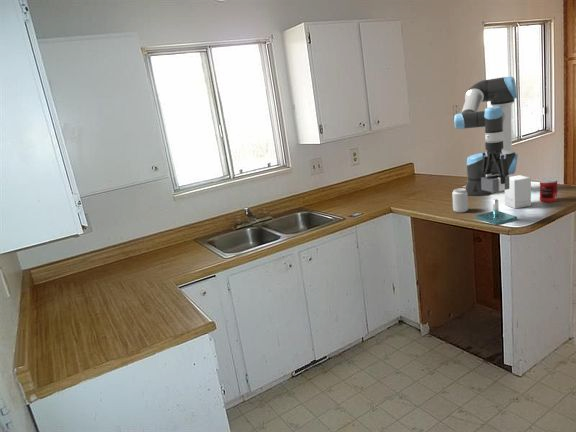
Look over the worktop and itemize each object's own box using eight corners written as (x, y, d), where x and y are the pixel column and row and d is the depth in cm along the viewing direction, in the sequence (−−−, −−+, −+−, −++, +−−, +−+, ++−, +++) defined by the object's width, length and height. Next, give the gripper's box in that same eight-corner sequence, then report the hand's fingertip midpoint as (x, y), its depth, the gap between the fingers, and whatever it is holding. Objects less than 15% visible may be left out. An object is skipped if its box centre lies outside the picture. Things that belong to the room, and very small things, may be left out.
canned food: (552, 197, 225) (552, 177, 222) (560, 201, 217) (560, 180, 215) (536, 199, 226) (537, 179, 223) (544, 203, 218) (544, 182, 216)
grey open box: (481, 189, 206) (481, 177, 204) (497, 186, 208) (497, 174, 206) (492, 192, 198) (492, 179, 197) (509, 188, 200) (509, 176, 198)
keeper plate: (475, 218, 212) (475, 199, 210) (496, 213, 215) (496, 195, 212) (495, 224, 199) (494, 205, 197) (517, 219, 201) (517, 200, 199)
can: (450, 210, 230) (449, 189, 227) (464, 208, 231) (463, 186, 228) (457, 213, 223) (456, 191, 220) (470, 211, 224) (470, 189, 220)
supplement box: (531, 206, 217) (531, 177, 213) (514, 209, 217) (514, 180, 213) (520, 202, 226) (520, 174, 222) (504, 205, 226) (503, 177, 222)
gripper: (472, 141, 206) (474, 186, 212) (503, 144, 186) (504, 194, 192) (486, 138, 208) (487, 184, 213) (517, 141, 188) (518, 191, 194)
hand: (495, 188), depth 203 cm, fingers closed on grey open box, 8 cm apart
